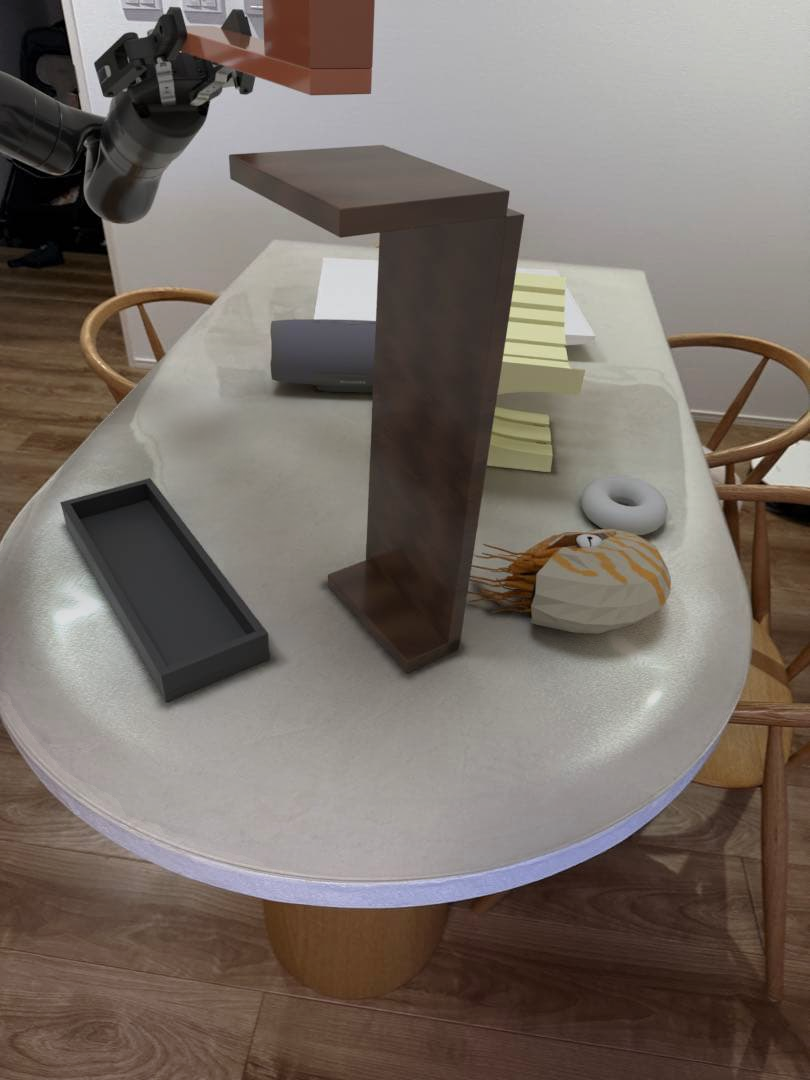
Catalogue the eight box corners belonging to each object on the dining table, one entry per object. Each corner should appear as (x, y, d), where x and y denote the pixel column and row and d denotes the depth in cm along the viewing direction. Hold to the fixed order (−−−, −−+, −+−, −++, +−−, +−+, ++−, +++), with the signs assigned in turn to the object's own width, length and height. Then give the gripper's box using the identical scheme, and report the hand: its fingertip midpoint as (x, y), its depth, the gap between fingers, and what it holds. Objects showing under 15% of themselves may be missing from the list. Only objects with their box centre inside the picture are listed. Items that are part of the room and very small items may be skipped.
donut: (580, 487, 95) (575, 531, 87) (585, 463, 93) (581, 506, 85) (662, 502, 94) (665, 548, 86) (669, 478, 92) (673, 523, 84)
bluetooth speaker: (425, 375, 118) (430, 312, 112) (431, 403, 110) (437, 337, 104) (275, 371, 115) (273, 306, 109) (271, 399, 108) (268, 332, 102)
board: (313, 350, 122) (312, 322, 119) (323, 282, 148) (323, 257, 145) (589, 363, 125) (595, 336, 122) (552, 294, 151) (557, 270, 148)
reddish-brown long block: (163, 45, 61) (154, -31, 58) (214, 46, 63) (209, -28, 60) (310, 95, 46) (309, -4, 43) (371, 94, 48) (375, -1, 45)
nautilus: (439, 640, 73) (457, 552, 85) (673, 668, 70) (656, 572, 82) (443, 573, 68) (461, 490, 81) (692, 599, 65) (671, 509, 78)
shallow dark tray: (66, 526, 82) (60, 502, 80) (154, 501, 87) (150, 477, 85) (166, 702, 64) (161, 676, 62) (269, 658, 69) (268, 633, 67)
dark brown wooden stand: (259, 611, 74) (228, 154, 49) (377, 566, 80) (400, 143, 56) (334, 708, 65) (340, 209, 40) (459, 648, 71) (528, 188, 47)
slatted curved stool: (437, 385, 115) (449, 266, 104) (543, 396, 114) (565, 277, 104) (420, 495, 91) (433, 354, 80) (554, 509, 91) (585, 370, 80)
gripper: (64, 70, 68) (101, -40, 54) (215, 70, 75) (283, -29, 61) (91, 159, 70) (133, 75, 55) (236, 151, 77) (307, 74, 62)
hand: (211, 22), depth 58 cm, fingers closed on reddish-brown long block, 4 cm apart
